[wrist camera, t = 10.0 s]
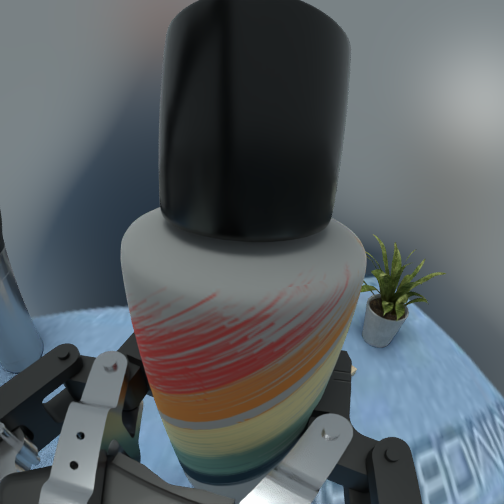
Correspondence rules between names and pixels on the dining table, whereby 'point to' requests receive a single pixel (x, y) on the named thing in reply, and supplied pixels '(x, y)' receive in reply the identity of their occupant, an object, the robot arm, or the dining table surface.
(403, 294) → the house plant
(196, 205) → the lotion bottle
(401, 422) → the dining table surface
